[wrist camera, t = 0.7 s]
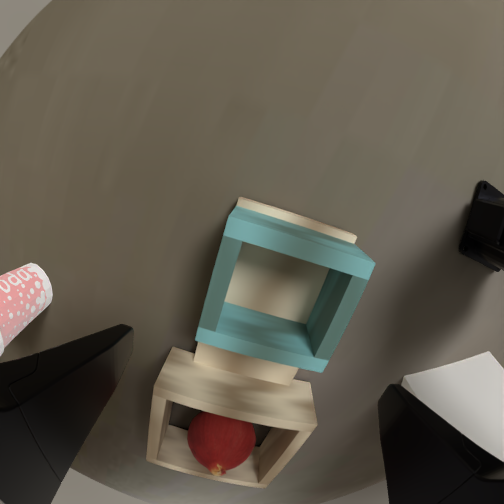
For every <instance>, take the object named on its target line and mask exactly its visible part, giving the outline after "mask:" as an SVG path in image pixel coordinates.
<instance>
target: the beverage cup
mask: <svg viewBox="0 0 504 504" xmlns="http://www.w3.org/2000/svg"><path fill="white" fill-rule="evenodd" d="M52 296H53V294H52V287H51V284H50V281H49V279H48V277H47V275H46V274H45V272H44V271H43V270H42V269H41V268H40V267H39V266H38V265H36V264H32V263H30V264H27V265H25V266H22V267H20V268H17V269H15V270H13V271H10V272H8V273H6V274H4V275H1V276H0V356H1V355H2V353H3V351H4V348H5V347H6V346H7V345H8V344H9V343H10V342H11V341H12V340H13V339H14V338H15V337H16V336H17V335H18V334H19V333H20V332H21V331H22V330H23V329H24V328H25V327H26V326H27V325H28V324H29V323H30V322H31V321H32V320H33V319H34V318H35V317H37V316H38V315H39V314H40V313H41V312H42V311H43V310H44V309H45V308H46V307H47V306H48V305H49V304H50V303H51V301H52Z"/></svg>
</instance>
